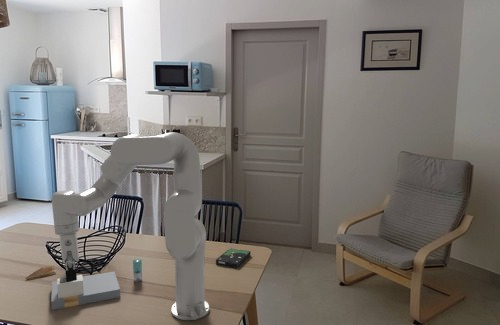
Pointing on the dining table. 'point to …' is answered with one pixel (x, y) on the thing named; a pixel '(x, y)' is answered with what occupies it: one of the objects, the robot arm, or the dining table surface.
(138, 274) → the green silver cylinder
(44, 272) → the shard
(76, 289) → the white rectangular block
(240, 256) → the disk drive
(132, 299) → the dining table surface
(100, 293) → the subfloor panel
